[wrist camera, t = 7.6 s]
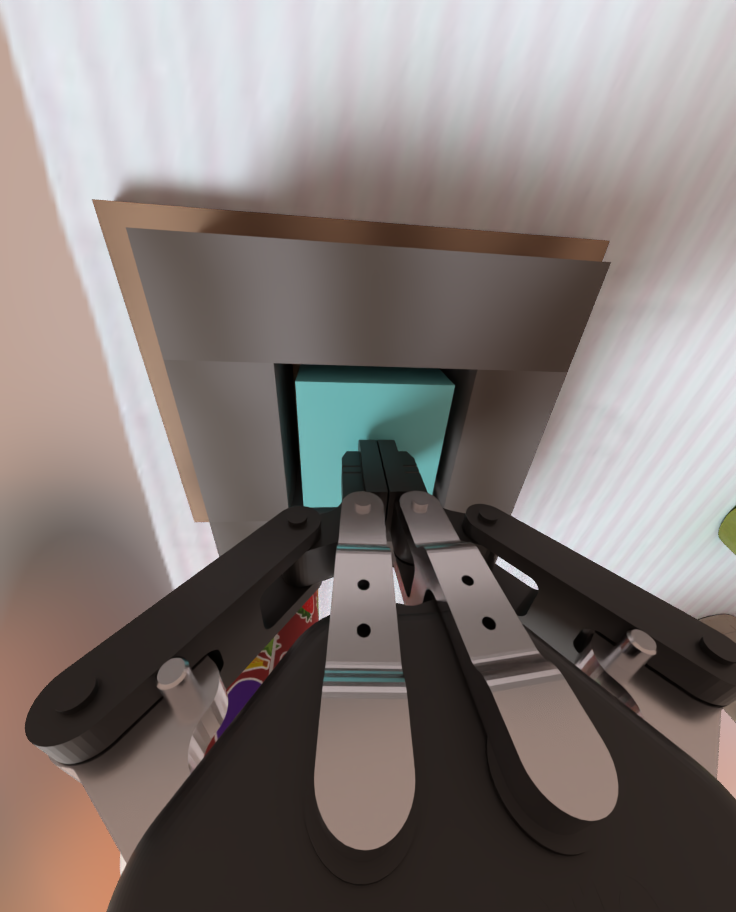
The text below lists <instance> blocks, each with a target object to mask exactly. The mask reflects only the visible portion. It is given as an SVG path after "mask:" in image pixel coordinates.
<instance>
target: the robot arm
mask: <svg viewBox="0 0 736 912" xmlns="http://www.w3.org/2000/svg"><path fill="white" fill-rule="evenodd" d="M341 495H342V502H341V504H340V505H339V506H338V507H337V508H335V509H334V510H332V511H330V512H327V513H323V514H319V513H318V512H317V511H316V510H314V509H313V508H310V507H307V506H294V507H290V508H287V509H285V510H283V511H282V512H280V513H279V514H278V515H276V516H275V517H273V518H272V519H271V520H269V521H268V522H267V523H265V524H264V525H263V526H261V527H260V528H258V529H257V530H256V531H254V532H253V533H252V534H250V535H249V536H247V537H246V538H245V539H243V540H242V541H241V542H239V543H238V544H237V545H235V546H234V547H232V548H231V549H230V550H228V551H227V552H226V553H224V554H223V555H221V556H220V557H219V558H217V559H216V560H215V561H213V562H212V563H210V564H209V565H208V566H206V567H205V568H204V569H202V570H201V571H200V572H198V573H197V574H195V575H194V576H193V577H191V578H190V579H189V580H187V581H186V582H184V583H183V584H182V585H180V586H179V587H178V588H176V589H175V590H174V591H172V592H171V593H169V594H168V595H167V596H166V597H164V598H163V599H161V600H160V601H158V602H157V603H156V604H154V605H153V606H152V607H150V608H149V609H148V610H146V611H145V612H143V613H142V614H141V615H139V616H138V617H137V618H135V619H134V620H132V621H131V622H130V623H128V624H127V625H126V626H124V627H123V628H122V629H120V630H119V631H117V632H116V633H115V634H113V635H112V636H111V637H109V638H108V639H106V640H105V641H104V642H102V643H101V644H100V645H98V646H97V647H96V648H94V649H93V650H92V651H90V652H89V653H87V654H86V655H84V656H83V657H82V658H80V659H79V660H78V661H76V662H75V663H74V664H72V665H71V666H70V667H68V668H67V669H65V670H64V671H63V672H61V673H60V674H59V675H58V676H56V677H55V678H54V679H53V680H52V681H51V682H50V683H49V684H48V685H47V686H46V687H45V688H44V689H43V690H42V692H41V693H40V694H39V695H38V697H37V698H36V699H35V701H34V703H33V705H32V706H31V708H30V710H29V712H28V715H27V718H26V722H25V733H26V736H27V738H28V740H29V741H30V742H31V743H32V744H34V745H35V746H36V747H38V748H39V749H41V750H42V751H43V752H45V753H46V754H48V756H49V758H50V760H51V761H52V762H53V763H54V764H55V765H56V766H58V767H59V768H60V769H62V770H63V771H65V772H66V773H67V774H69V775H70V776H72V777H73V778H74V779H76V780H77V781H79V782H80V783H82V785H83V787H84V788H85V790H86V792H87V794H88V796H89V797H90V799H91V801H92V803H93V804H94V806H95V808H96V810H97V811H98V813H99V815H100V817H101V819H102V821H103V822H104V824H105V826H106V828H107V830H108V831H109V833H110V835H111V837H112V839H113V840H114V842H115V844H116V846H117V848H118V849H119V851H120V853H121V855H122V857H123V858H124V860H125V862H126V866H125V868H124V870H123V872H122V874H121V877H120V879H119V881H118V883H117V886H116V888H115V890H114V893H113V895H112V898H111V900H110V903H109V906H108V909H107V912H736V799H735V798H734V797H733V796H732V795H731V794H730V793H729V791H728V790H727V789H726V788H725V787H724V786H723V785H722V784H721V783H720V782H719V781H718V780H717V768H718V752H719V751H718V750H719V737H720V720H721V710H722V709H723V708H725V707H727V706H728V705H729V704H731V703H733V702H734V701H736V643H735V642H734V641H732V640H731V639H730V638H728V637H727V636H725V635H724V634H722V633H720V632H719V631H717V630H715V629H713V628H712V627H710V626H708V625H706V624H704V623H703V622H701V621H699V620H697V619H695V618H694V617H692V616H690V615H688V614H686V613H685V612H683V611H681V610H679V609H677V608H676V607H674V606H672V605H670V604H668V603H667V602H665V601H663V600H661V599H659V598H658V597H656V596H654V595H652V594H650V593H649V592H647V591H645V590H643V589H642V588H640V587H638V586H636V585H634V584H633V583H631V582H629V581H627V580H625V579H624V578H622V577H620V576H618V575H616V574H615V573H613V572H611V571H609V570H607V569H606V568H604V567H602V566H600V565H598V564H597V563H595V562H593V561H591V560H589V559H588V558H586V557H584V556H582V555H580V554H579V553H577V552H575V551H573V550H571V549H570V548H568V547H566V546H564V545H562V544H561V543H559V542H557V541H555V540H553V539H552V538H550V537H548V536H546V535H544V534H543V533H541V532H539V531H537V530H535V529H534V528H532V527H530V526H528V525H526V524H525V523H523V522H521V521H519V520H517V519H516V518H514V517H512V516H510V515H508V514H507V513H505V512H503V511H501V510H499V509H498V508H495V507H493V506H490V505H487V504H474V505H471V506H469V507H468V508H467V510H466V513H461V512H456V511H451V510H448V509H445V508H442V506H441V504H440V502H439V501H438V499H437V498H436V497H434V496H433V495H431V494H429V493H428V492H427V489H426V487H425V484H424V482H423V479H422V477H421V474H420V473H419V469H418V467H417V464H416V462H415V459H414V457H412V456H411V455H410V454H409V453H408V452H407V451H398V449H397V446H396V443H395V440H377V441H376V440H359V441H358V451H346V453H345V454H344V455H343V457H342V471H341ZM388 541H392V545H393V551H392V559H391V551H390V547H387V542H388ZM498 556H499V557H500V558H502V559H503V560H505V561H506V562H508V563H509V564H511V565H512V566H514V567H516V568H517V569H519V570H520V571H522V572H523V573H525V574H526V575H528V576H529V577H531V578H532V579H533V580H534V581H535V582H536V584H537V586H538V589H539V590H535V589H533V588H531V587H529V586H528V585H526V584H525V583H523V582H522V581H520V580H519V579H517V578H516V577H514V576H513V575H511V574H510V573H508V572H507V571H505V570H504V569H502V568H501V567H500V566H498V565H497V564H495V562H496V560H497V558H498ZM392 562H393V565H394V569H395V572H396V576H397V580H398V583H399V587H400V590H401V594H402V597H403V601H404V604H398V603H396V602H395V591H394V581H393V570H392ZM332 577H334V581H333V591H332V602H331V613H330V615H329V616H327V617H325V618H322V619H321V620H319V621H318V622H316V623H314V624H313V625H312V626H310V627H309V628H308V629H307V630H306V631H305V632H304V633H303V634H302V635H301V636H299V638H298V639H297V640H296V641H295V642H294V644H293V645H292V646H291V648H290V649H289V650H288V651H287V653H286V654H285V655H284V656H283V658H282V659H281V660H280V661H279V663H278V664H277V665H276V666H275V668H274V669H273V670H272V672H271V673H270V674H269V675H268V677H267V678H266V679H265V680H264V682H263V683H262V684H261V685H260V687H259V688H258V689H257V691H256V692H255V693H254V694H253V696H252V697H251V698H250V699H249V701H248V702H247V703H246V704H245V706H244V707H243V708H242V710H241V711H240V712H239V713H238V715H237V716H236V717H235V718H234V720H233V721H232V722H231V723H230V725H229V726H228V727H227V728H226V730H225V731H224V732H223V734H222V735H221V736H220V737H219V739H218V740H217V741H216V742H215V744H214V745H213V746H212V747H211V749H210V750H209V751H208V753H207V754H206V755H205V756H204V754H205V752H206V749H207V747H208V745H209V743H210V741H211V739H212V738H213V736H214V735H215V733H216V732H217V731H218V729H219V728H220V726H221V724H222V722H223V720H224V718H225V715H226V712H227V708H228V694H227V690H226V689H227V688H228V687H229V686H230V685H231V684H232V683H233V682H234V681H235V680H236V678H237V677H238V676H239V675H240V674H241V673H242V672H243V671H244V670H245V669H246V667H247V666H248V665H249V664H250V663H251V662H252V661H253V660H254V659H255V658H256V657H257V655H258V654H259V653H260V652H261V651H262V650H263V649H264V648H265V647H266V646H267V644H268V643H269V642H270V641H271V640H272V639H273V638H274V637H275V636H276V635H277V634H278V632H279V631H280V630H281V629H282V628H283V627H284V626H285V625H286V624H287V623H288V621H289V620H290V619H291V618H292V617H293V616H294V615H295V614H296V613H297V612H298V610H299V609H300V608H301V607H302V606H303V605H304V604H305V603H306V602H307V601H308V600H309V598H310V597H311V596H312V595H313V594H314V593H315V592H316V591H317V590H318V588H319V587H320V585H321V583H322V581H324V580H327V579H329V578H332Z"/></svg>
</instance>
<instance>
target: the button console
mask: <svg viewBox="0 0 736 912" xmlns="http://www.w3.org/2000/svg"><path fill="white" fill-rule="evenodd" d="M92 201H93V204H94V207H95V211H96V214H97V217H98V220H99V223H100V226H101V229H102V233H103V236H104V239H105V242H106V245H107V248H108V251H109V255H110V258H111V261H112V264H113V267H114V270H115V273H116V277H117V280H118V283H119V286H120V289H121V292H122V295H123V298H124V302H125V305H126V308H127V311H128V314H129V317H130V320H131V324H132V327H133V330H134V333H135V336H136V339H137V342H138V346H139V349H140V352H141V355H142V358H143V361H144V364H145V368H146V371H147V374H148V377H149V380H150V383H151V386H152V390H153V393H154V396H155V399H156V402H157V405H158V408H159V412H160V415H161V418H162V421H163V424H164V427H165V430H166V434H167V437H168V440H169V443H170V446H171V449H172V452H173V456H174V459H175V462H176V465H177V468H178V471H179V474H180V478H181V481H182V484H183V487H184V490H185V493H186V496H187V500H188V503H189V506H190V509H191V512H192V515H193V518H194V522H210V526H211V529H212V533H213V536H214V540H215V543H216V547H217V550H218V554H219V557H220V556H221V555H223V554H224V553H226V552H227V551H228V550H230V549H231V548H232V547H234V546H235V545H237V544H238V543H239V542H241V541H242V540H243V539H245V538H246V537H247V536H249V535H250V534H252V533H253V532H254V531H256V530H257V529H258V528H260V527H261V526H263V525H264V524H265V523H267V522H268V521H269V520H271V519H272V518H273V517H275V516H276V515H278V514H279V513H280V512H282V511H283V510H285V509H287V508H290V507H294V506H304V504H303V489H302V474H301V459H300V445H299V430H298V415H297V400H296V385H295V381H296V378H297V374H298V371H299V368H300V365H301V364H317V365H349V366H381V367H413V368H439V369H440V370H441V371H442V372H443V373H444V374H445V375H446V377H447V378H448V379H449V380H450V381H451V382H452V383H453V384H454V385H455V388H454V393H453V398H452V403H451V407H450V412H449V417H448V422H447V426H446V431H445V436H444V441H443V445H442V450H441V455H440V460H439V464H438V469H437V474H436V479H435V483H434V488H433V493H432V495H433V496H434V497H436V498H437V499H438V501H439V502H440V504H441V506H442V508H445V509H448V510H451V511H456V512H461V513H466V510H467V508H468V507H469V506H471V505H474V504H487V505H490V506H493V507H495V508H498V509H499V510H501V511H503V512H505V513H507V514H508V515H510V516H511V513H512V511H513V508H514V506H515V503H516V501H517V498H518V496H519V493H520V491H521V488H522V486H523V483H524V481H525V478H526V476H527V473H528V470H529V468H530V465H531V463H532V460H533V458H534V455H535V453H536V450H537V448H538V445H539V443H540V440H541V438H542V435H543V433H544V430H545V428H546V425H547V422H548V420H549V417H550V415H551V412H552V410H553V407H554V405H555V402H556V400H557V397H558V395H559V392H560V390H561V387H562V385H563V382H564V380H565V377H566V375H567V372H568V369H569V367H570V364H571V362H572V359H573V357H574V354H575V352H576V349H577V347H578V344H579V342H580V339H581V337H582V334H583V332H584V329H585V327H586V324H587V322H588V319H589V316H590V314H591V311H592V309H593V306H594V304H595V301H596V299H597V296H598V294H599V291H600V289H601V286H602V284H603V281H604V279H605V276H606V274H607V271H608V269H609V266H610V263H611V262H602V260H603V258H604V255H605V252H606V250H607V247H608V245H609V242H610V241H606V240H593V239H581V238H568V237H556V236H543V235H531V234H519V233H506V232H494V231H481V230H469V229H456V228H444V227H431V226H419V225H406V224H394V223H381V222H369V221H356V220H344V219H331V218H319V217H306V216H294V215H281V214H269V213H256V212H244V211H231V210H219V209H206V208H194V207H181V206H169V205H156V204H144V203H131V202H119V201H106V200H94V199H92ZM310 508H313V509H314V510H316V511H317V512H318V513H319V514H323V513H327V512H330V511H332V510H334V509H335V508H337V507H310ZM387 547H390V551H391V559H392V551H393V545H392V541H388V542H387ZM392 567H394V565H393V562H392Z"/></svg>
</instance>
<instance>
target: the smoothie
mask: <svg viewBox="0 0 736 912" xmlns="http://www.w3.org/2000/svg"><path fill="white" fill-rule="evenodd" d="M318 621H319V612H318V590H317V591H316V592H315V593H314V594H313V595H312V596H311V597H310V598H309V600H308V601H307V602H306V603H305V604H304V605H303V606H302V607H301V608H300V609H299V610H298V612H297V613H296V614H295V615H294V616H293V617H292V618H291V619H290V620H289V621H288V623H287V624H286V625H285V626H284V627H283V628H282V629H281V630H280V631H279V632H278V634H277V635H276V636H275V637H274V638H273V639H272V640H271V641H270V642H269V643H268V644H267V646H266V647H265V648H264V649H263V650H262V651H261V652H260V653H259V654H258V655H257V657H256V658H255V659H254V660H253V661H252V662H251V663H250V664H249V665H248V666H247V667H246V669H245V670H244V671H243V672H242V673H241V674H240V675H239V676H238V677H237V678H236V680H235V681H234V682H233V683H232V684H231V685H230V686H229V687H228V688H227V689H226V690H227V694H228V708H227V712H226V715H225V718H224V720H223V722H222V724H221V726H220V728H219V729H218V731H217V732H216V733H215V735H214V736H213V738H212V739H211V741H210V743H209V745H208V747H207V749H206V752H205V754H204V756H205V755H206V754H207V753H208V751H209V750H210V749H211V747H212V746H213V745H214V744H215V742H216V741H217V740H218V739H219V737H220V736H221V735H222V734H223V732H224V731H225V730H226V728H227V727H228V726H229V725H230V723H231V722H232V721H233V720H234V718H235V717H236V716H237V715H238V713H239V712H240V711H241V710H242V708H243V707H244V706H245V704H246V703H247V702H248V701H249V699H250V698H251V697H252V696H253V694H254V693H255V692H256V691H257V689H258V688H259V687H260V685H261V684H262V683H263V682H264V680H265V679H266V678H267V677H268V675H269V674H270V673H271V672H272V670H273V669H274V668H275V666H276V665H277V664H278V663H279V661H280V660H281V659H282V658H283V656H284V655H285V654H286V653H287V651H288V650H289V649H290V648H291V646H292V645H293V644H294V642H295V641H296V640H297V639H298V638H299V636H301V635H302V634H303V633H304V632H305V631H306V630H307V629H308V628H309V627H310V626H312V625H313V624H314V623H316V622H318ZM125 866H126V862H125V860H124V858H123V857H122V855H121V853H120V874H122V872H123V870H124V868H125Z"/></svg>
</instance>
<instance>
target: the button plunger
mask: <svg viewBox="0 0 736 912" xmlns="http://www.w3.org/2000/svg"><path fill="white" fill-rule="evenodd" d="M295 385H296V400H297V415H298V430H299V445H300V459H301V474H302V489H303V504H304V506H307V507H338V506H339V505H340V504H341V502H342V495H341V471H342V457H343V455H344V454H345V453H346V451H358V441H359V440H376V441H377V440H395V443H396V446H397V449H398V451H407V452H408V453H409V454H410V455H411V456H412V457H414V459H415V462H416V464H417V467H418V469H419V473H420V474H421V477H422V479H423V482H424V484H425V487H426V489H427V492H428V493H429V494H431V495H432V493H433V488H434V483H435V479H436V474H437V469H438V464H439V460H440V455H441V450H442V445H443V441H444V436H445V431H446V426H447V422H448V417H449V412H450V407H451V403H452V398H453V393H454V388H455V385H454V384H453V383H452V382H451V381H450V380H449V379H448V378H447V377H446V375H445V374H444V373H443V372H442V371H441V370H440V369H439V368H413V367H381V366H349V365H317V364H301V365H300V368H299V371H298V374H297V378H296V381H295Z"/></svg>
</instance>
